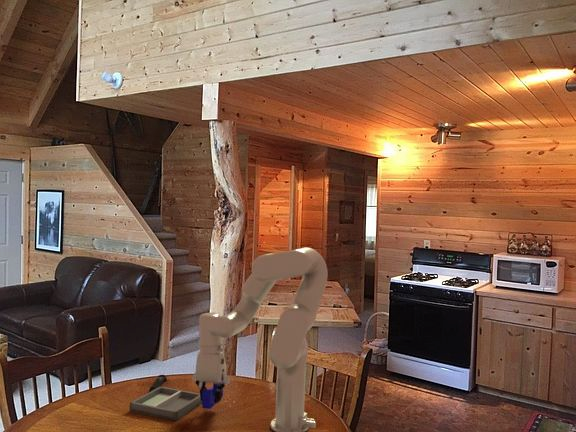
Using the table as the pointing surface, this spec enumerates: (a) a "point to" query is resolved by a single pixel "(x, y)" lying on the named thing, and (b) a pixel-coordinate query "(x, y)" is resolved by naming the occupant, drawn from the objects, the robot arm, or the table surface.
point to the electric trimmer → (158, 382)
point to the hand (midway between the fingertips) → (210, 400)
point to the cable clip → (209, 397)
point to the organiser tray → (166, 403)
